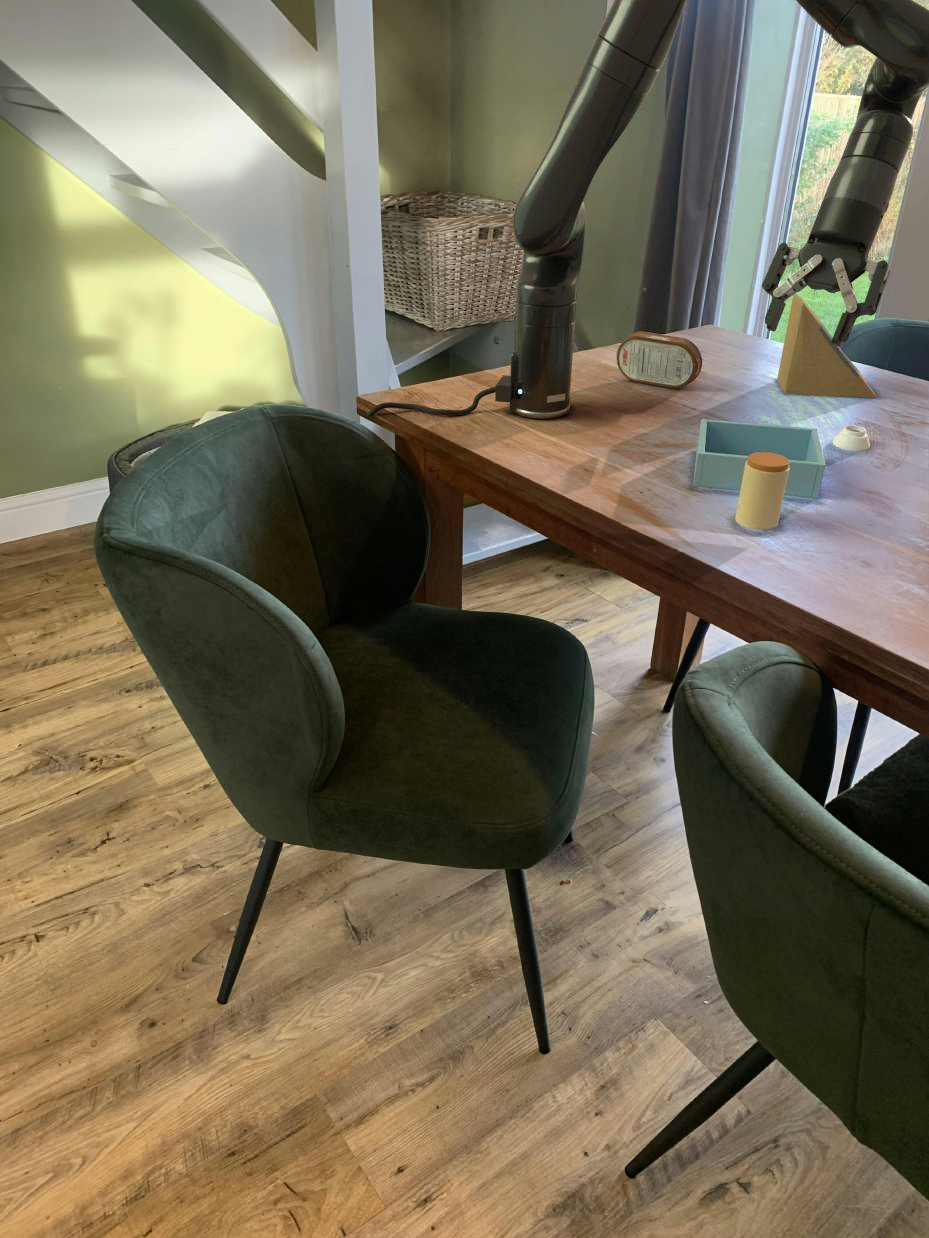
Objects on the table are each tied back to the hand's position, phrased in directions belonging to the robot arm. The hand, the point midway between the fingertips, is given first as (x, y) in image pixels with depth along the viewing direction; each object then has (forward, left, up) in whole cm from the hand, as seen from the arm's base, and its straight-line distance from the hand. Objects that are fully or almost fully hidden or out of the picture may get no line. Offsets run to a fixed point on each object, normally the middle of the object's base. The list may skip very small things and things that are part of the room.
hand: (802, 337), depth 112 cm
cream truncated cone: (+11, +11, -18) cm, 24 cm away
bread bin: (-3, -4, -18) cm, 19 cm away
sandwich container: (+10, +40, -18) cm, 45 cm away
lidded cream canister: (-3, -19, -18) cm, 26 cm away
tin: (-19, +35, -18) cm, 44 cm away
